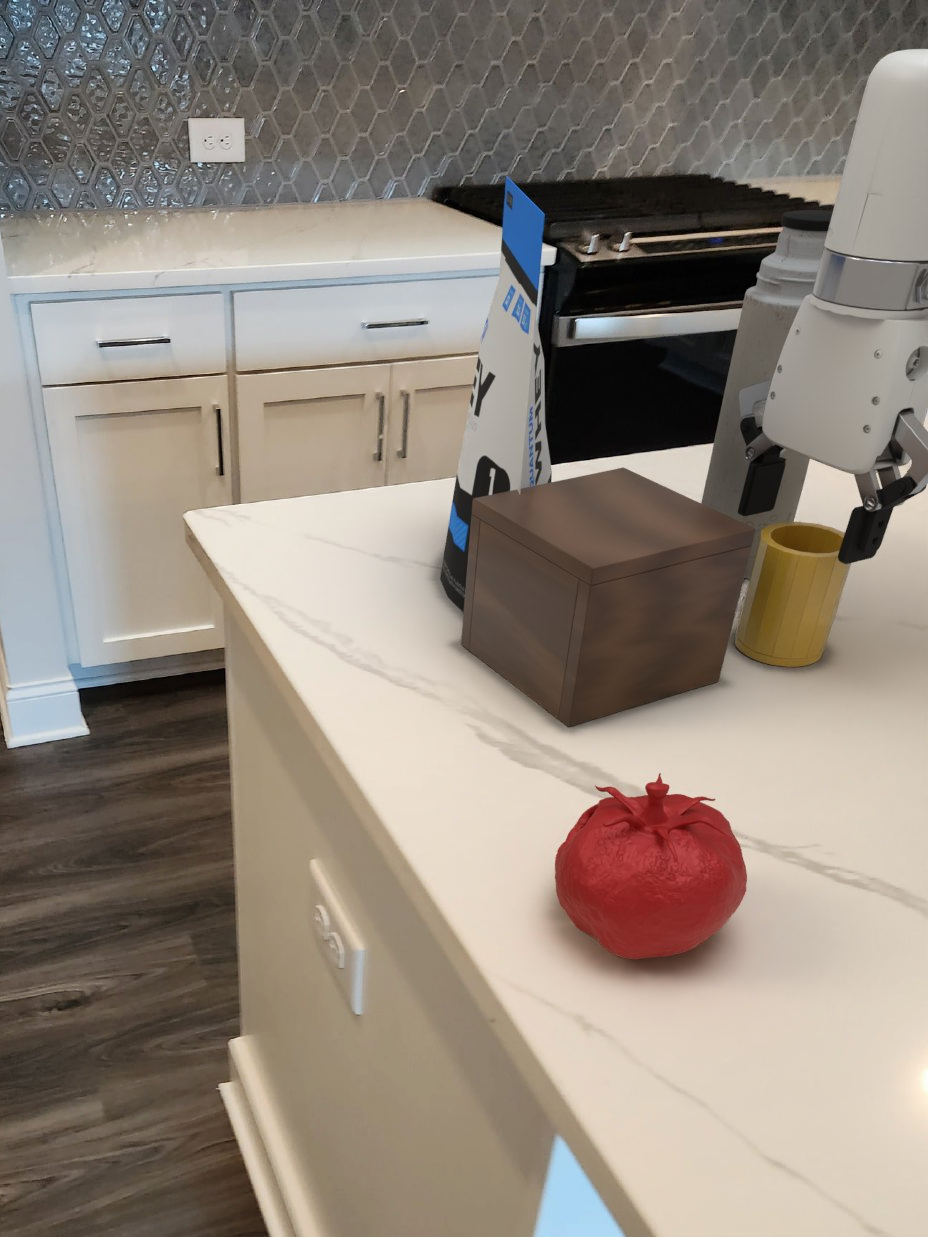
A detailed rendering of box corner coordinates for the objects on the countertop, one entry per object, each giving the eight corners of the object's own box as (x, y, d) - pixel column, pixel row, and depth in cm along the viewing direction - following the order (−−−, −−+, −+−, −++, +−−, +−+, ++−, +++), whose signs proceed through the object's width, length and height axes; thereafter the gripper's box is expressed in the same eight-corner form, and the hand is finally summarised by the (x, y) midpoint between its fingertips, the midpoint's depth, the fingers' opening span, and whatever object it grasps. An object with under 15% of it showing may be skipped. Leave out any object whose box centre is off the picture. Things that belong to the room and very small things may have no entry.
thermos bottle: (747, 538, 104) (829, 201, 87) (800, 572, 98) (898, 217, 81) (673, 548, 102) (741, 207, 86) (722, 583, 96) (806, 223, 79)
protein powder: (530, 530, 107) (564, 174, 90) (567, 640, 88) (619, 212, 70) (433, 531, 108) (448, 177, 90) (447, 641, 88) (469, 216, 71)
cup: (777, 621, 91) (806, 515, 85) (841, 655, 86) (875, 545, 81) (716, 638, 88) (742, 531, 83) (778, 674, 84) (809, 563, 78)
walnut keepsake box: (600, 608, 93) (623, 466, 86) (719, 681, 83) (756, 528, 76) (460, 644, 88) (472, 498, 81) (568, 727, 78) (593, 568, 71)
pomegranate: (767, 954, 60) (813, 816, 54) (606, 1000, 57) (637, 860, 51) (661, 847, 67) (692, 716, 61) (515, 884, 64) (533, 751, 59)
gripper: (1037, 304, 66) (937, 570, 77) (815, 254, 79) (755, 489, 89) (953, 317, 64) (860, 590, 74) (736, 263, 76) (683, 504, 86)
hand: (803, 535), depth 82 cm, fingers open, 9 cm apart
